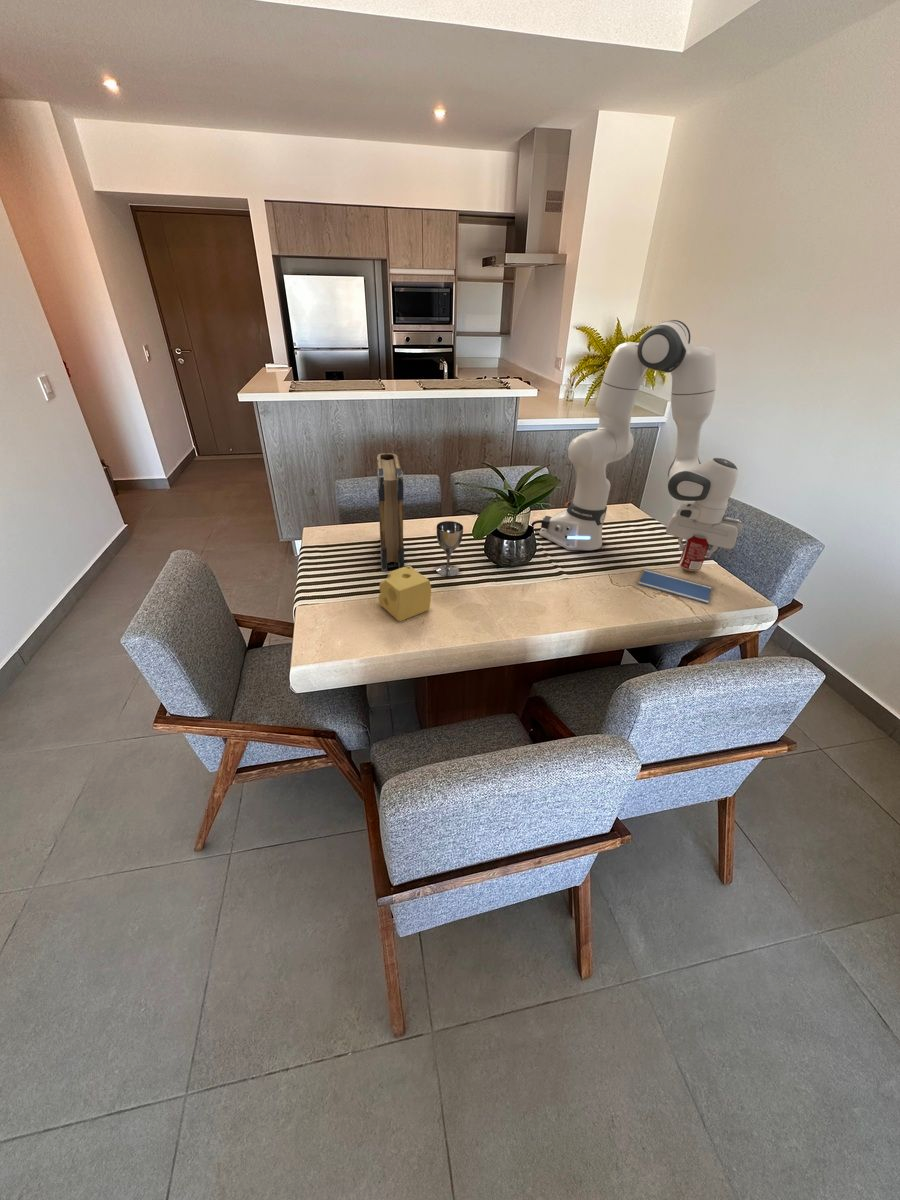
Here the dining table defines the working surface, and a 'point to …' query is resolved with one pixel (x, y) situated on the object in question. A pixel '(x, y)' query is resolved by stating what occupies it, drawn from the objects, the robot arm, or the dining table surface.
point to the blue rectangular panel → (675, 586)
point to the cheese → (405, 593)
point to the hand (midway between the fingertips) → (693, 553)
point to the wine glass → (449, 544)
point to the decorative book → (390, 509)
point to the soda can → (694, 553)
